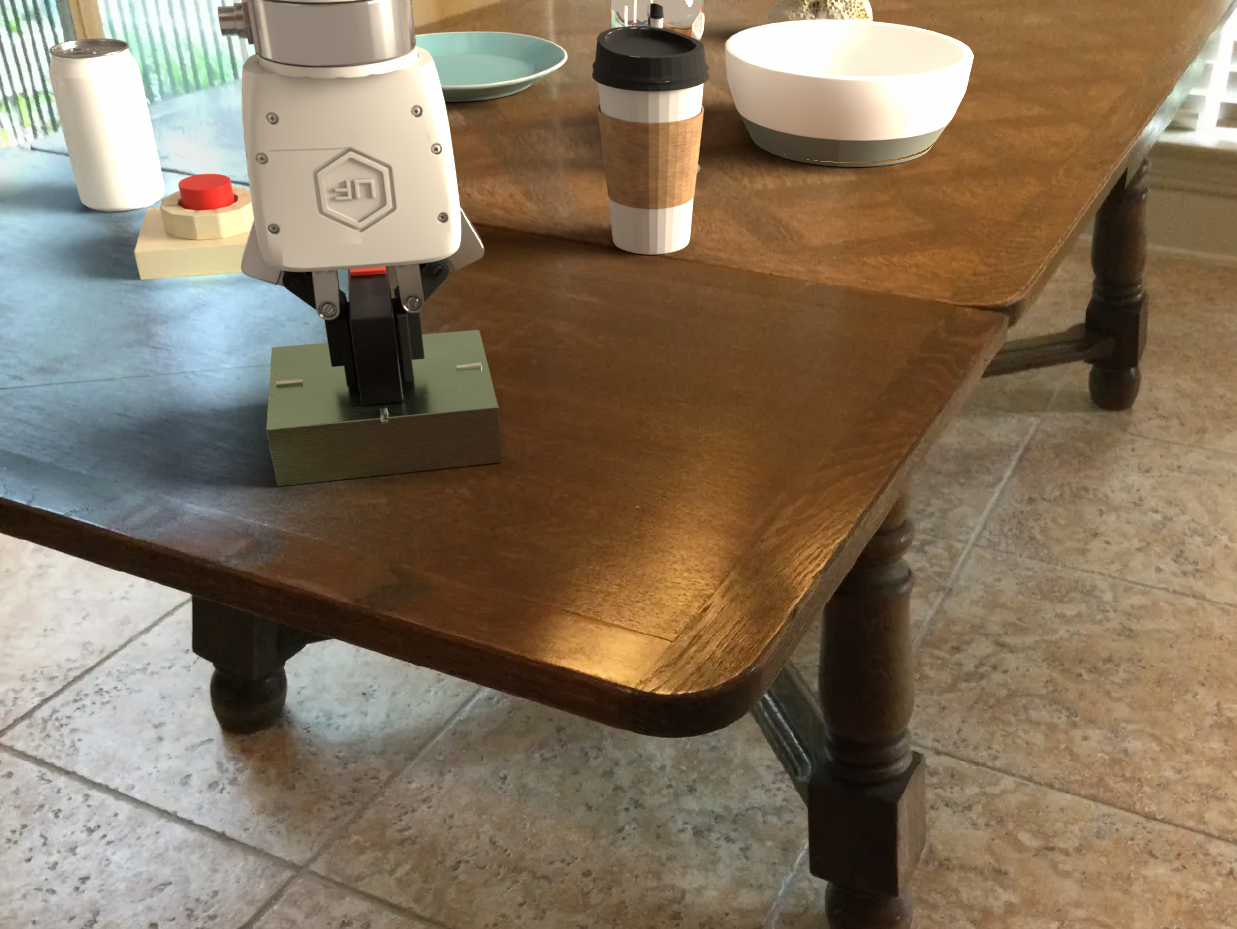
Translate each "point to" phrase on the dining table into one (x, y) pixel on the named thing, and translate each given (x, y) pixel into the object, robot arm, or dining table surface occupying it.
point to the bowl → (845, 89)
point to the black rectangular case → (374, 335)
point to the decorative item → (819, 10)
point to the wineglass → (661, 17)
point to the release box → (193, 238)
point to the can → (106, 124)
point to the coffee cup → (650, 133)
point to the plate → (489, 62)
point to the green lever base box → (381, 415)
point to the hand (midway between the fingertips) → (379, 370)
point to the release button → (206, 192)
